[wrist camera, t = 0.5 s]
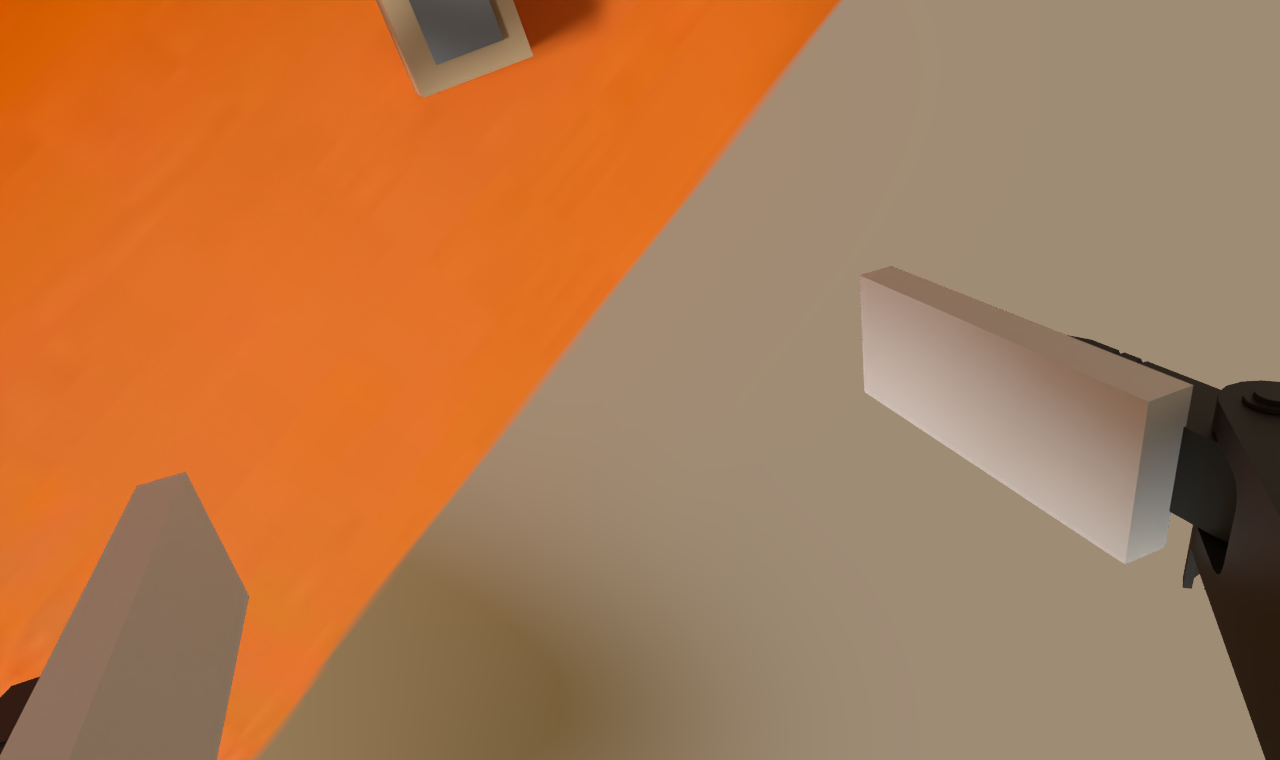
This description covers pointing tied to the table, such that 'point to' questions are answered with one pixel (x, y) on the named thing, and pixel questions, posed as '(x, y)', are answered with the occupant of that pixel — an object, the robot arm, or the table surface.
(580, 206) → the table surface
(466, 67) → the oak block
